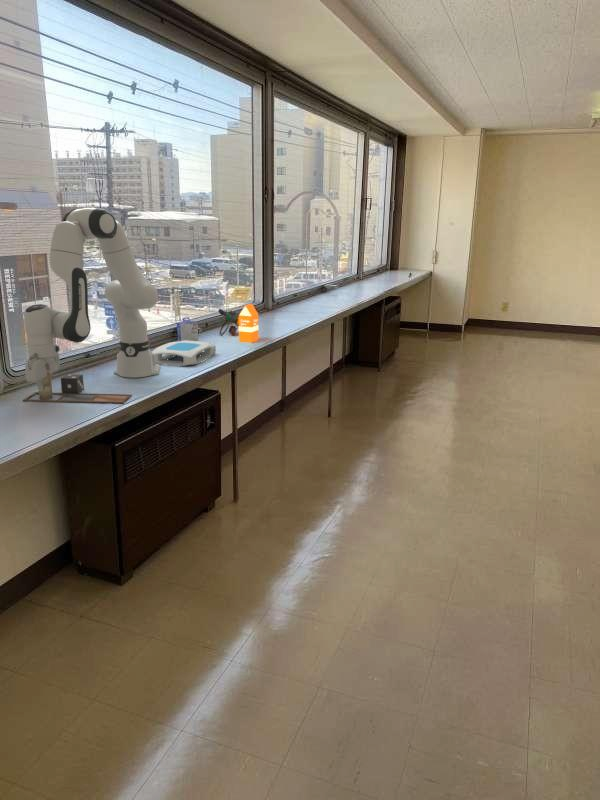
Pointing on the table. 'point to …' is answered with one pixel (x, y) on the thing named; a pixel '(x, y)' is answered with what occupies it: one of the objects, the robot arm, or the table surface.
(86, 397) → the board
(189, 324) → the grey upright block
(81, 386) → the die
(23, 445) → the table surface
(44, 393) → the pawn
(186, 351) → the white step stool
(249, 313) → the orange juice
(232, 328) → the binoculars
